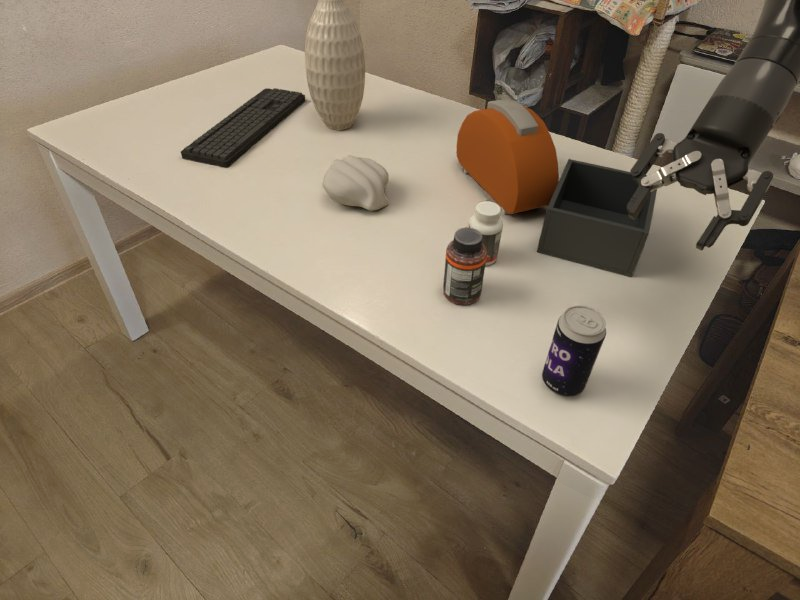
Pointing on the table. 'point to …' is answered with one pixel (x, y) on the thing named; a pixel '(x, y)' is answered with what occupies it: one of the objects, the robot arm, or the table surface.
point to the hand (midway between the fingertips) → (663, 232)
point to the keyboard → (243, 128)
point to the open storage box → (595, 219)
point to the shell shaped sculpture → (357, 182)
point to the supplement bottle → (464, 267)
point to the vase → (335, 64)
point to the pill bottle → (488, 227)
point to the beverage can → (574, 350)
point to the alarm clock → (509, 155)
